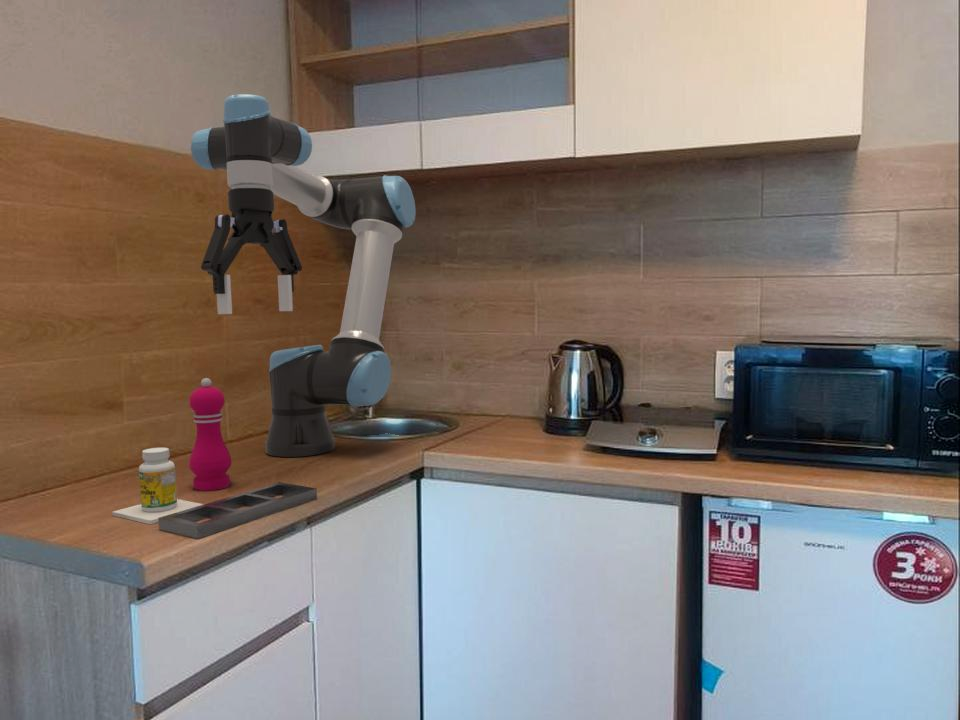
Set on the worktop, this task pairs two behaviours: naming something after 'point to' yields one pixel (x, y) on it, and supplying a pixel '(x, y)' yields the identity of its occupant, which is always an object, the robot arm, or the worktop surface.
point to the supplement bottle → (157, 481)
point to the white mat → (152, 517)
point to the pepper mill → (209, 439)
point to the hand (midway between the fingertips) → (256, 312)
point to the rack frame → (230, 516)
